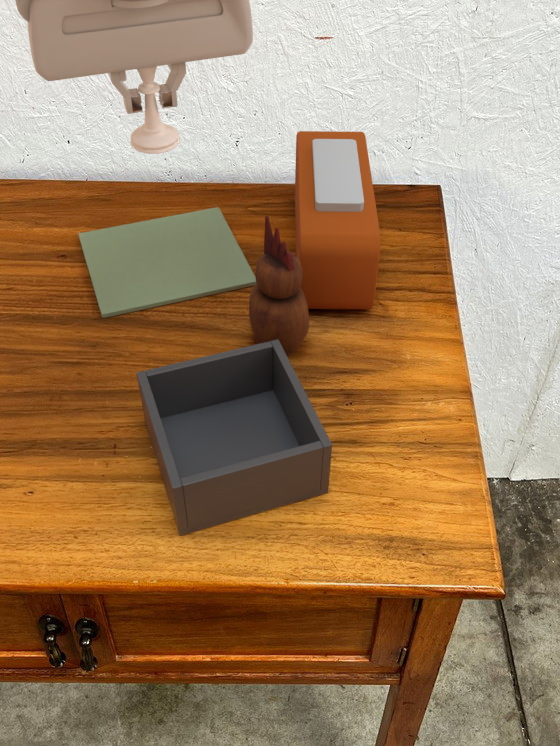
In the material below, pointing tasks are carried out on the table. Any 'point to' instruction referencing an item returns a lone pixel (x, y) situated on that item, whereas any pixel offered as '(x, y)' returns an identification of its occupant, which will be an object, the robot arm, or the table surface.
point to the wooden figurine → (278, 296)
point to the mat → (164, 261)
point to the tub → (233, 435)
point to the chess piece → (152, 120)
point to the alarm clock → (336, 220)
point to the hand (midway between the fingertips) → (151, 107)
